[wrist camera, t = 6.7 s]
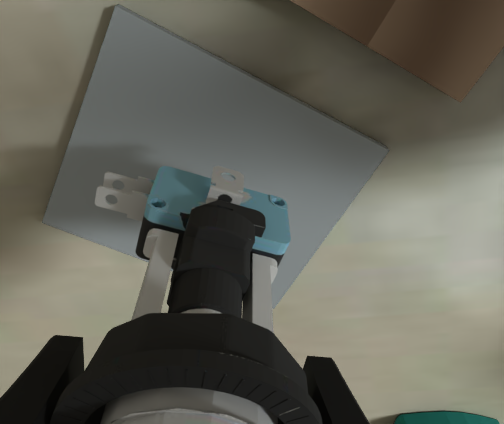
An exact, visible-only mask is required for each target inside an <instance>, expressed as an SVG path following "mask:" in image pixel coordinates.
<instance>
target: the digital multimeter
mask: <svg viewBox="0 0 504 424" xmlns="http://www.w3.org/2000/svg"><path fill="white" fill-rule="evenodd" d="M394 424H499V422H498V420H496V419H492V418H488V417H484V416H480V415H474V414H469V413H463V412H446V411H443V412H419V413H409V414H401V415H399V416H398V417H397V419H396V421H395V423H394Z"/></svg>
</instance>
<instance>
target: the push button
mask: <svg viewBox="0 0 504 424" xmlns="http://www.w3.org/2000/svg"><path fill="white" fill-rule="evenodd" d="M223 174H226V175H230V176H232V177H233V178H234V179H235V180H234V181H228V180H226V179H224V178H223V177H222V176H221V175H223ZM116 180H119V181H122V182H123V183H124V188H123V189H116V188H115V187H114V186H113V182H114V181H116ZM109 194H110V195H114V196H115V197H116V198H117V200H118V202H117V203H115V204H111V203H108V202H107V201H106V196H107V195H109ZM95 204H96V206H99V207H103V208H106V209H110V210H114V211H118V212H122V213H126V214H127V218H131V219H134V220H138V221H142V225H141V229H140V233H139V237H138V242H137V246H136V251H135V252H136V254H137V256H138V257H140V258H142V259H146V260H149V263H148V267H147V270H146V273H145V277H144V280H143V283H142V287H141V290H140V293H139V297H138V300H137V303H136V307H135V310H134V313H133V317H132V320H131V321H129V322H126V323H124V324H122V325H119V326H117V327H114V328H113V329H111V330H110V331H109V332H108V333H107V335H106V336H105V338H104V340H103V341H102V343H101V345H100V346H99V348H98V350H97V351H96V353H95V355H94V356H93V358H92V360H91V361H90V363H89V365H88V366H87V368H86V370H85V371H84V372H83V373H82V374H80V375H79V376H78V377H76V378H75V379H74V380H73V381H72V382H71V383H70V384H69V385H68V386H67V387H66V388H65V390H64V391H63V392H62V394H61V396H60V398H59V400H58V402H57V405H56V407H55V410H54V412H53V415H52V417H51V420H50V424H323V423H322V418H321V414H320V412H319V410H318V407H317V406H316V404H315V402H314V401H313V399H312V398H311V397H310V396H309V395H308V388H307V379H306V374H305V372H304V370H303V369H302V368H301V367H300V365H299V364H298V363H297V362H296V361H295V359H294V358H293V357H292V356H291V354H290V353H289V352H288V351H287V349H286V348H285V347H284V346H283V344H282V343H281V342H280V341H279V340H278V338H277V337H276V336H275V335H274V333H273V315H272V294H271V284H272V283H273V281H274V279H275V277H276V275H277V271H278V266H279V264H280V262H281V260H282V258H283V256H284V254H285V251H286V249H287V247H288V245H289V243H290V240H291V236H290V227H289V219H288V206H287V203H286V201H285V200H284V199H282V198H280V197H277V196H274V195H270V194H269V195H268V194H264V193H260V192H257V191H253V190H250V189H246V188H244V175H243V174H241V173H240V172H238V171H234V170H231V169H228V168H224V167H221V166H216V167H213V172H212V178H208V177H204V176H201V175H197V174H194V173H190V172H187V171H183V170H180V169H176V168H173V167H169V166H162V167H160V168H159V170H158V172H157V175H156V178H155V180H151V179H148V178H144V177H140V176H138V180H137V179H134V178H130V177H127V176H123V175H119V174H116V173H112V172H106V173H105V176H104V183H103V186H101V185H100V186H98V187H97V191H96V197H95ZM171 268H172V269H173V273H172V278H171V286H170V291H169V295H168V300H167V304H168V306H169V310H168V313H161V309H162V304H163V300H164V296H165V291H166V287H167V283H168V278H169V274H170V270H171ZM242 300H243V314H242ZM241 315H242V318H241Z"/></svg>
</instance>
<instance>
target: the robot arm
mask: <svg viewBox="0 0 504 424" xmlns="http://www.w3.org/2000/svg"><path fill="white" fill-rule="evenodd" d="M303 370H304V372H305V374H306V379H307V388H308V395H309V396H310V397H311V398H312V399H313V401H314V402H315V404H316V406H317V407H318V410H319V412H320V414H321V418H322V423H323V424H370V423H369V422H368V420H367V418H366V417H365V415H364V413H363V412H362V410H361V408H360V406H359V405H358V403H357V401H356V400H355V398H354V396H353V394H352V393H351V391H350V389H349V387H348V386H347V384H346V382H345V380H344V378H343V377H342V375H341V373H340V371H339V369H338V367H337V366H336V364H335V362H334V361H333V359H332V358H327V357H315V356H307V358H306V361H305V364H304V367H303ZM83 372H84V353H83V337H72V336H60V335H55V336H53V337H52V338H51V339H50V340H49V341H48V342H47V344H46V345H45V346H44V347H43V349H42V350H41V351H40V352H39V354H38V355H37V356H36V357H35V359H34V360H33V361H32V362H31V363H30V365H29V366H28V367H27V368H26V369H25V371H24V372H23V373H22V374H21V375H20V376H19V378H18V379H17V380H16V381H15V382H14V383H13V384H12V386H11V387H10V388H9V389H8V390H7V391H6V392H5V393H4V395H3V396H2V397H1V398H0V424H50V420H51V417H52V415H53V412H54V410H55V407H56V405H57V402H58V400H59V398H60V396H61V394H62V392H63V391H64V390H65V388H66V387H67V386H68V385H69V384H70V383H71V382H72V381H73V380H74V379H75V378H76V377H78V376H79V375H80V374H82V373H83Z"/></svg>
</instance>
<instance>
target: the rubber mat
mask: <svg viewBox="0 0 504 424" xmlns="http://www.w3.org/2000/svg"><path fill="white" fill-rule="evenodd" d="M388 152H389V149H388V148H387V147H386V146H385V145H383V144H381V143H379V142H377V141H375V140H374V139H372V138H370V137H368V136H366V135H364V134H362V133H360V132H358V131H357V130H355V129H353V128H351V127H349V126H347V125H345V124H343V123H342V122H340V121H338V120H336V119H334V118H332V117H330V116H328V115H326V114H325V113H323V112H321V111H319V110H317V109H315V108H313V107H311V106H309V105H308V104H306V103H304V102H302V101H300V100H298V99H296V98H294V97H293V96H291V95H289V94H287V93H285V92H283V91H281V90H279V89H277V88H276V87H274V86H272V85H270V84H268V83H266V82H264V81H262V80H260V79H259V78H257V77H255V76H253V75H251V74H249V73H247V72H245V71H244V70H242V69H240V68H238V67H236V66H234V65H232V64H230V63H228V62H227V61H225V60H223V59H221V58H219V57H217V56H215V55H213V54H211V53H210V52H208V51H206V50H204V49H202V48H200V47H198V46H196V45H195V44H193V43H191V42H189V41H187V40H185V39H183V38H181V37H179V36H178V35H176V34H174V33H172V32H170V31H168V30H166V29H164V28H162V27H161V26H159V25H157V24H155V23H153V22H151V21H149V20H147V19H146V18H144V17H142V16H140V15H138V14H136V13H134V12H132V11H130V10H129V9H127V8H125V7H123V6H121V5H119V4H118V5H116V6H115V8H114V11H113V14H112V17H111V20H110V23H109V26H108V29H107V32H106V35H105V38H104V41H103V44H102V47H101V50H100V53H99V55H98V58H97V61H96V64H95V67H94V70H93V73H92V76H91V79H90V82H89V85H88V88H87V91H86V94H85V97H84V100H83V103H82V106H81V109H80V111H79V114H78V117H77V120H76V123H75V126H74V129H73V132H72V135H71V138H70V141H69V144H68V147H67V150H66V153H65V156H64V159H63V162H62V165H61V167H60V170H59V173H58V176H57V179H56V182H55V185H54V188H53V191H52V194H51V197H50V200H49V203H48V206H47V209H46V212H45V215H44V218H43V220H42V223H44V224H47V225H49V226H52V227H55V228H57V229H60V230H63V231H65V232H68V233H71V234H74V235H76V236H79V237H82V238H84V239H87V240H90V241H92V242H95V243H98V244H100V245H103V246H106V247H109V248H111V249H114V250H117V251H119V252H122V253H125V254H127V255H130V256H133V257H135V258H138V259H141V260H144V261H146V262H149V260H146V259H142V258H140V257H138V256H137V254H136V252H135V251H136V246H137V242H138V237H139V233H140V229H141V225H142V221H138V220H134V219H131V218H127V214H126V213H122V212H118V211H114V210H110V209H106V208H103V207H99V206H96V204H95V197H96V191H97V187H98V186H100V185H101V186H103V183H104V176H105V173H106V172H112V173H116V174H119V175H123V176H127V177H130V178H134V179H137V180H138V176H140V177H144V178H148V179H151V180H155V178H156V175H157V172H158V170H159V168H160V167H162V166H169V167H173V168H176V169H180V170H183V171H187V172H190V173H194V174H197V175H201V176H204V177H208V178H212V172H213V167H216V166H221V167H224V168H228V169H231V170H234V171H238V172H240V173H241V174H243V175H244V188H246V189H250V190H253V191H257V192H260V193H264V194H268V195H269V194H270V195H274V196H277V197H280V198H282V199H284V200H285V201H286V203H287V206H288V219H289V227H290V236H291V240H290V243H289V245H288V247H287V249H286V251H285V254H284V256H283V258H282V260H281V262H280V264H279V266H278V271H277V275H276V277H275V279H274V281H273V283H272V284H271V294H272V308H273V309H274V308H275V307H276V305H277V304H278V303H279V301H280V300H281V299H282V297H283V296H284V294H285V293H286V292H287V290H288V289H289V288H290V286H291V285H292V283H293V282H294V281H295V279H296V278H297V277H298V275H299V274H300V272H301V271H302V270H303V268H304V267H305V266H306V264H307V263H308V262H309V260H310V259H311V257H312V256H313V255H314V253H315V252H316V251H317V249H318V248H319V246H320V245H321V244H322V242H323V241H324V240H325V238H326V237H327V236H328V234H329V233H330V231H331V230H332V229H333V227H334V226H335V225H336V223H337V222H338V220H339V219H340V218H341V216H342V215H343V214H344V212H345V211H346V210H347V208H348V207H349V205H350V204H351V203H352V201H353V200H354V199H355V197H356V196H357V194H358V193H359V192H360V190H361V189H362V188H363V186H364V185H365V183H366V182H367V181H368V179H369V178H370V177H371V175H372V174H373V173H374V171H375V170H376V168H377V167H378V166H379V164H380V163H381V162H382V160H383V159H384V157H385V156H386V155H387V153H388ZM221 176H222V177H223V178H224V179H226V180H228V181H234V180H235V179H234V178H233V177H232V176H230V175H226V174H223V175H221ZM113 186H114V187H115V188H116V189H123V188H124V183H123V182H122V181H119V180H116V181H114V182H113ZM106 201H107V202H108V203H111V204H115V203H117V202H118V200H117V198H116V197H115V196H114V195H110V194H109V195H107V196H106ZM171 271H173V269H172V268H171Z"/></svg>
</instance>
